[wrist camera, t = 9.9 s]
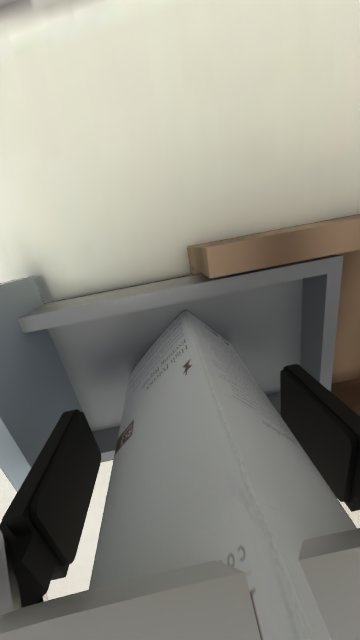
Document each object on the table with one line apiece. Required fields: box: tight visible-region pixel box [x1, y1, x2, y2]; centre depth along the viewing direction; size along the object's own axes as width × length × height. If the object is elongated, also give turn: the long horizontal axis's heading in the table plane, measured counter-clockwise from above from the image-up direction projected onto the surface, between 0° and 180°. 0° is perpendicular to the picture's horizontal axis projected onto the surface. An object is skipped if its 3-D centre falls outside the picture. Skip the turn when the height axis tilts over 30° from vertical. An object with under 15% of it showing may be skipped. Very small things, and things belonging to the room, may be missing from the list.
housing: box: [187, 214, 360, 416], centre depth 14 cm, size 18×14×6 cm
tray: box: [0, 255, 343, 492], centre depth 12 cm, size 18×14×6 cm
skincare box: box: [89, 311, 357, 640], centre depth 9 cm, size 6×4×12 cm
